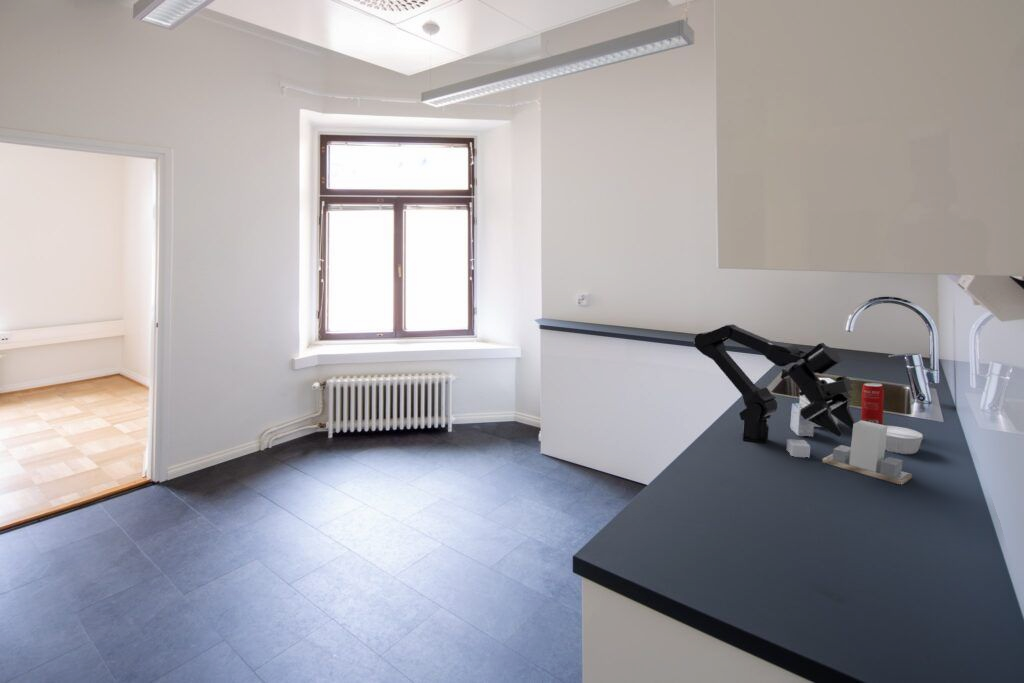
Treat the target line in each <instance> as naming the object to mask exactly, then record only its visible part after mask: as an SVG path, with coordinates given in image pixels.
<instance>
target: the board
mask: <svg viewBox="0 0 1024 683" xmlns="http://www.w3.org/2000/svg"><path fill="white" fill-rule="evenodd" d="M831 455H833V453H831V454H830V455H827V456H825V457H823V458H822V463H824V464H826V463H827V465H831V466H834V467H838V468H840V469H844V470H848V471H852V472H855V473H859V474H862V475H864V476H869V477H872V478H876V479H879V480H883V481H886V482H890V483H893V484H898V485H900V484H901V485H900V486H903V485H904V484H905V483H907V482H908V481H909V480H911V479H912V478H913V474H912V473H909V472H908V473H909V474H908V475H907V476H905V477H904V478H903V479H901V480H899V479H895V478H892V477H888V476H885V475H881V474H877V473H874V472H870V471H867V470H863V469H860V468H856V467H852V466H849V465H845V464H842V463H838V462H835V461H831V460H827V459H826V458H827V457H829V456H831ZM902 484H903V485H902Z"/></svg>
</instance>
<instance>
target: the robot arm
mask: <svg viewBox="0 0 1024 683" xmlns="http://www.w3.org/2000/svg"><path fill="white" fill-rule="evenodd" d="M728 340H732V341H733V342H734V343H738V344H740V345H743V346H744V347H747V348H749V349H751V350H754V351H756V352H758V353H760V354H762V355H763V356H764V357H765V359H767V360H768V361H770V362H771V363H773V364H774V365H776V366H778V367H786V366H790V365H792V366H791V367H789V368H783V369H781V376H780V379H781V380H785V379H788V378H789V379H791V380H792V382H793V383H794V384H795V386H796V387H797V389H799V391H801V392H798V394H799V396H800V395H801V396H803V395H804V396H805V397H806V398H807V400H808V401H809V402H810V404H809V405H807V406H805V407H804V408H802V409H801V411H800V414H801V416H802V417H803V418H804V420H806V419H809V418H810V417H811V416H812V418H811V419H809V420H808V421H811V422H813V423H815V424H817V425H819V426H821V427H820V428H823V429H825V430H827V431H828V432H830V433H832V434H834V435H835V436H837V437H840V436H842V435H843V432H842V431H841V429H840V427H839V426H838V424H836V423H835V421H834V420H833V418H832V416H831V414H832V415H833V416H835V417H836V418H837V419H838V421H840V422H842V423H843V424H844V425H845V426H847V427H848V428H850V429H852V430H853V424H854V423H856V422H855V420H854V418H853V416H852V415H853V414H852V413H851V410H850V406H851V405H850V404H851V403H852V397H853V396H852V395H850V394H849V391H853V387H852V384H853V381H852V380H851V379H850V378H848V377H847V376H845V375H841V376H838V377H836V380H835V381H836V382H831V383H827V382H826V381H825V380H820V379H819V378H820V377H818V376H817V375H816V374H820V375H823V374H825V373H826V372H827V371H829V370H830V369H832V368H834V367H835V366H836V365H838V364H840V363H841V361H842V360H841V357H840V355H839V354H838V352H837V351H836V350H833V349H832V348H831V347H830V346H828V345H826V344H825V343H824V342H819V343H818V344H816V345H815V347H814V348H812V349H811V350H810V351H808V352H807V351H805V350H801V349H799V348H798V346H796V345H794V344H790V343H787V342H781V341H774V340H770V339H767V338H765V337H763V336H761V335H757V334H755V333H753V332H751V331H748V330H745V329H744V328H741V327H738V326H737V325H736V324H734V323H732V324H725V325H722V326H721V327H719V328H716V329H714V330H710V331H706V332H700V333H698V334H696V336H694V341H693V344H694V347H695V349H696V350H697V351H698V352H700V353H701V354H702V355H704V356H705V357H708V358H709V359H711V360H712V361H714V363H715V364H716V366H718V368H719V369H720V370H721V371H722V372H723V374H724V375H725V376H726V378H727V379H728V380H729V381H730V382H731V383H732V385H733V386H734V388H736V390H737V391H738V392H739V393H740V394H741V396H742V400H743V402H744V403H743V404H744V406H745V409H743V410H742V411H740V412H739V417H740V420H741V421H743V428H742V436H741V437H742V439H741V440H743V441H747V442H756V443H767V440H768V439H769V424H768V421H767V420H768V419H770V418H771V416H772V415H773V414H774V413H776V411H777V410H778V401H777V399H776V396H775V395H773V394H772V393H771V392H770V390H769V388H767V387H766V386H765V387H763V388H760V387H759V386H756V385H755V384H754V382H753V381H752V380H751V379H750V378H749V376H748V375H747V374H746V373H745V371H744V370H743V369H742V368H741V367H740V366H739V365H738V363H737V362H736V360H734V359H733V357H731V354H730V355H729V353H728V352H727V350H726V347H725V346H726V345H725V343H724V342H726V341H728ZM800 362H802V363H800ZM797 363H800V364H797ZM831 409H832V410H831Z"/></svg>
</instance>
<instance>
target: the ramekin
mask: <svg viewBox="0 0 1024 683" xmlns="http://www.w3.org/2000/svg"><path fill="white" fill-rule="evenodd" d="M887 426H888V427H887V436H886V444H885V451H886V450H887V452H890V453H894V452H895V454H899V453H900V454H901V455H913V454H916V453H917V452H918V451H919V449H920V446H921V444H922V440H924V439H923V438H924V435H923V433H921V432H919V431H917V430H914V429H911V428H908V427H901V426H896V425H887Z"/></svg>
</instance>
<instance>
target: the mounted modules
mask: <svg viewBox="0 0 1024 683" xmlns="http://www.w3.org/2000/svg"><path fill="white" fill-rule="evenodd" d="M850 451H851V446H847V445H843V444H840V445H837V447H834V448H833V451H832V454H833V459H832V460H836V461H840V462H843V463H846V462H847V461H849V460H850ZM903 461H904V460H903V459H898V458H895V457H890V456H888V457H886V458H885V459H884V460H883V461H881V469H880V473H883V474H886V475H890V476H893V477H894V476H896V475H897V474H899V473H900V472H901V471H903V470H902V469H903V468H902V467H903Z"/></svg>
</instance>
